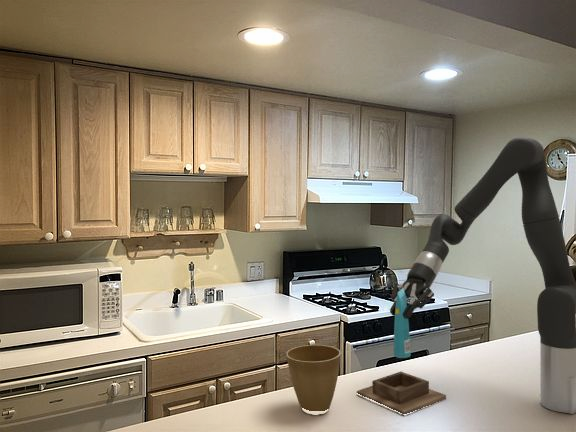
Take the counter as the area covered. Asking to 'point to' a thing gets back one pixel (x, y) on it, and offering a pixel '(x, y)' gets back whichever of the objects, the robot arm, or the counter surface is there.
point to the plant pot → (314, 375)
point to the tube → (401, 328)
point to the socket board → (402, 392)
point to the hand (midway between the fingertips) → (398, 315)
